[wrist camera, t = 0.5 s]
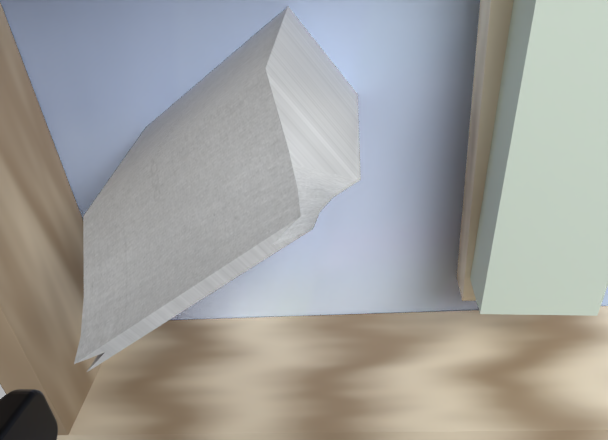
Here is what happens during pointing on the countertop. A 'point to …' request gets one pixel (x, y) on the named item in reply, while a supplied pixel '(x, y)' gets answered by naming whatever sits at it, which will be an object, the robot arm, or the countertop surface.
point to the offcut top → (548, 166)
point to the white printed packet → (217, 185)
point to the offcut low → (481, 127)
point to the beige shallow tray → (267, 343)
